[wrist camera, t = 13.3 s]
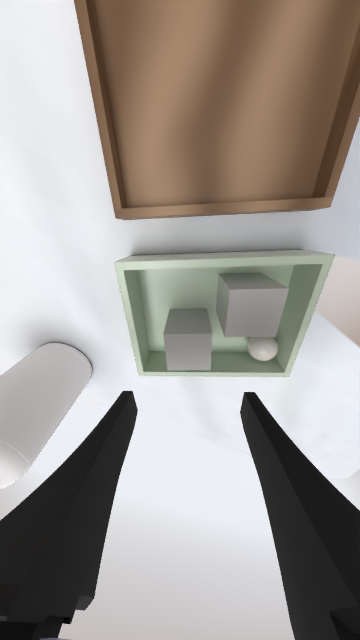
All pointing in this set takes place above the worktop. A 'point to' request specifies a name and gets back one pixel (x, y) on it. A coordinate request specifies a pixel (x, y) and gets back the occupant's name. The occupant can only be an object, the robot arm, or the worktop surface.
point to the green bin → (201, 292)
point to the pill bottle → (36, 404)
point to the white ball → (262, 348)
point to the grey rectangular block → (249, 304)
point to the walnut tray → (222, 102)
